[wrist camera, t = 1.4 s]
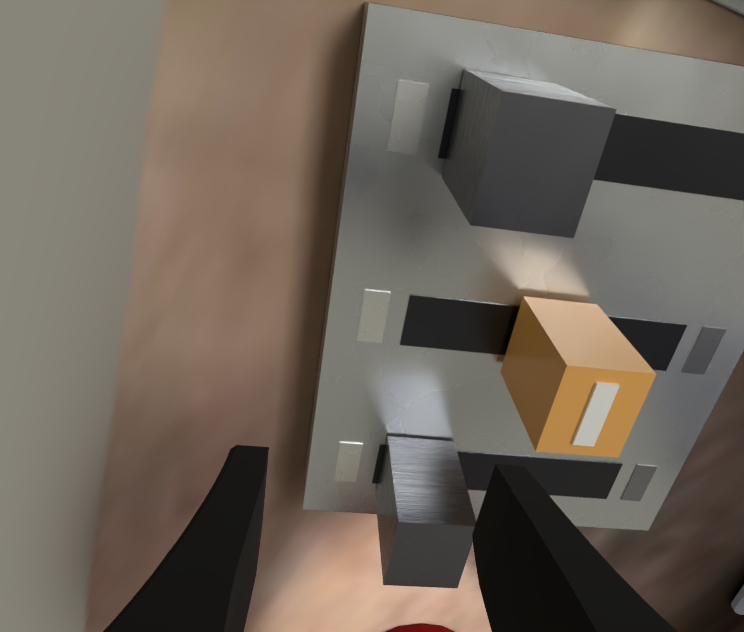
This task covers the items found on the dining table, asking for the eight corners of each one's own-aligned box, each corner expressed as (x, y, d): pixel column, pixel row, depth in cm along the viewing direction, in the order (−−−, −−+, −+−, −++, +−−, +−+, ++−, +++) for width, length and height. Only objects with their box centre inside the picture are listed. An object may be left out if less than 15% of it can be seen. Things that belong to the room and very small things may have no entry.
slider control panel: (626, 493, 26) (701, 620, 20) (304, 471, 24) (297, 603, 19) (826, 80, 18) (1032, 117, 12) (364, 1, 16) (380, 5, 11)
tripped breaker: (569, 378, 20) (619, 460, 16) (500, 371, 19) (536, 453, 16) (597, 304, 18) (658, 376, 15) (523, 295, 18) (568, 367, 14)
